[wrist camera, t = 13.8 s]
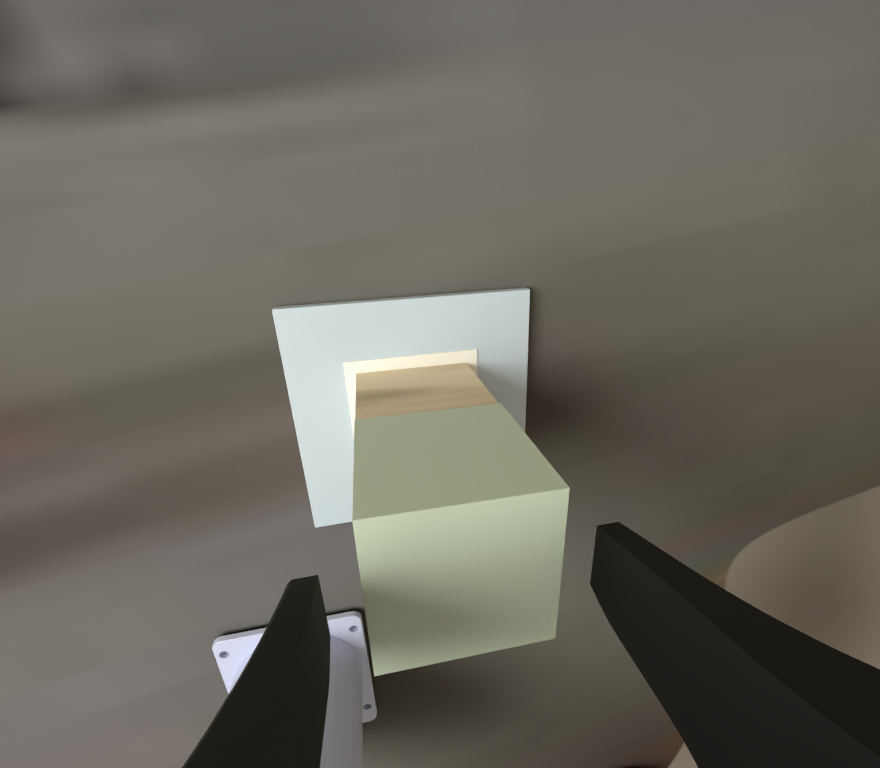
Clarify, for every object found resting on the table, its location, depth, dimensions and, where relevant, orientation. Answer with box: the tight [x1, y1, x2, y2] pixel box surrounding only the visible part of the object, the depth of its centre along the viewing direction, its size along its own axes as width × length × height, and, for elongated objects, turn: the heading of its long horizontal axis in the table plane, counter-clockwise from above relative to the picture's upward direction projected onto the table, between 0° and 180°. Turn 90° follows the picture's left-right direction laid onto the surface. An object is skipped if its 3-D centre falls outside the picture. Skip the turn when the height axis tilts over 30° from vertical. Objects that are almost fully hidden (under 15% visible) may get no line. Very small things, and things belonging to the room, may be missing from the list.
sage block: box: [352, 403, 570, 676], centre depth 12 cm, size 5×5×5 cm
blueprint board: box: [272, 288, 530, 527], centre depth 20 cm, size 11×11×1 cm
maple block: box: [355, 363, 499, 420], centre depth 17 cm, size 5×5×5 cm
